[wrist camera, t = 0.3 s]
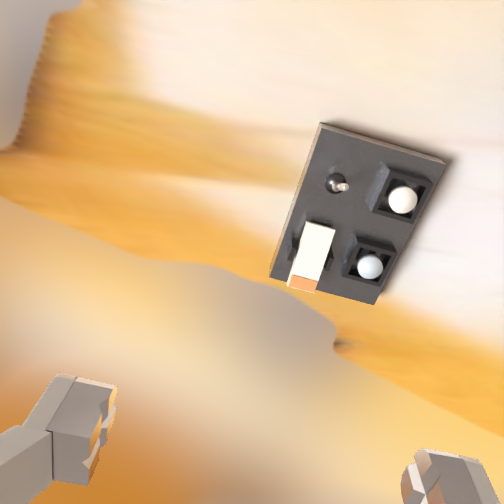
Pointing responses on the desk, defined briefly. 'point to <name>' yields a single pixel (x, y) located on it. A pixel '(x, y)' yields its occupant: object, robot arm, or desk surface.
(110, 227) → the desk surface
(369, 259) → the button
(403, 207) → the button
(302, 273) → the rocker
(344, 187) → the toggle lever
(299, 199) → the panel
